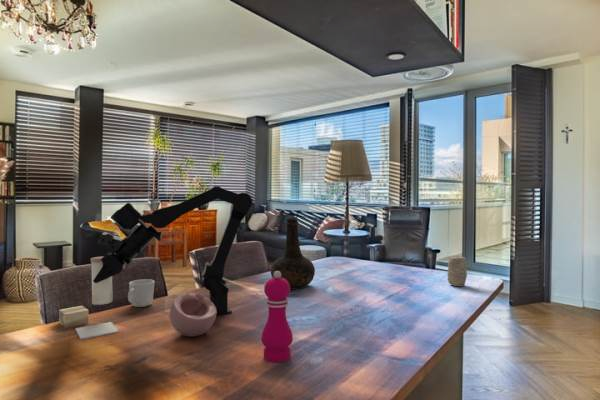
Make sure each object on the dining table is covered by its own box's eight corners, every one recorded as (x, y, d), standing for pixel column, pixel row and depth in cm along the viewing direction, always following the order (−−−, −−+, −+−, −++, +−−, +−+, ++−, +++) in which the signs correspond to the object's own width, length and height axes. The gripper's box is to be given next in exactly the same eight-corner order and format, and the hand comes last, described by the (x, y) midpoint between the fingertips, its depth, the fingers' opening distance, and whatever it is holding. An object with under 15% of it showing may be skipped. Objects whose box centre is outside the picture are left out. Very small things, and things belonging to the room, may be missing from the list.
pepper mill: (261, 351, 93) (261, 268, 92) (291, 350, 93) (291, 267, 93) (261, 364, 86) (261, 274, 85) (293, 363, 86) (294, 273, 86)
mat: (118, 332, 105) (118, 330, 105) (80, 339, 99) (80, 338, 99) (111, 323, 112) (111, 321, 112) (75, 329, 106) (75, 328, 106)
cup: (140, 312, 123) (140, 287, 123) (118, 310, 124) (118, 285, 124) (159, 302, 133) (159, 279, 133) (138, 301, 135) (138, 278, 135)
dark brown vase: (317, 282, 164) (317, 217, 164) (311, 293, 147) (311, 219, 146) (276, 280, 167) (276, 216, 167) (265, 291, 150) (265, 219, 149)
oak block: (88, 323, 112) (88, 309, 112) (65, 328, 108) (65, 314, 108) (82, 318, 117) (82, 305, 116) (59, 323, 112) (59, 309, 112)
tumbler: (115, 302, 114) (114, 258, 113) (93, 306, 110) (92, 260, 110) (110, 298, 118) (110, 255, 118) (89, 301, 115) (89, 257, 114)
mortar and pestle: (191, 347, 95) (191, 300, 95) (159, 337, 101) (159, 294, 101) (225, 332, 105) (225, 290, 105) (194, 324, 111) (194, 284, 111)
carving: (469, 287, 157) (469, 258, 157) (450, 287, 157) (451, 257, 157) (463, 283, 163) (463, 255, 163) (445, 283, 163) (445, 255, 163)
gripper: (122, 220, 124) (84, 256, 121) (108, 225, 106) (64, 267, 103) (148, 244, 126) (112, 280, 123) (140, 252, 108) (97, 294, 105)
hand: (97, 280), depth 114 cm, fingers closed on tumbler, 5 cm apart
